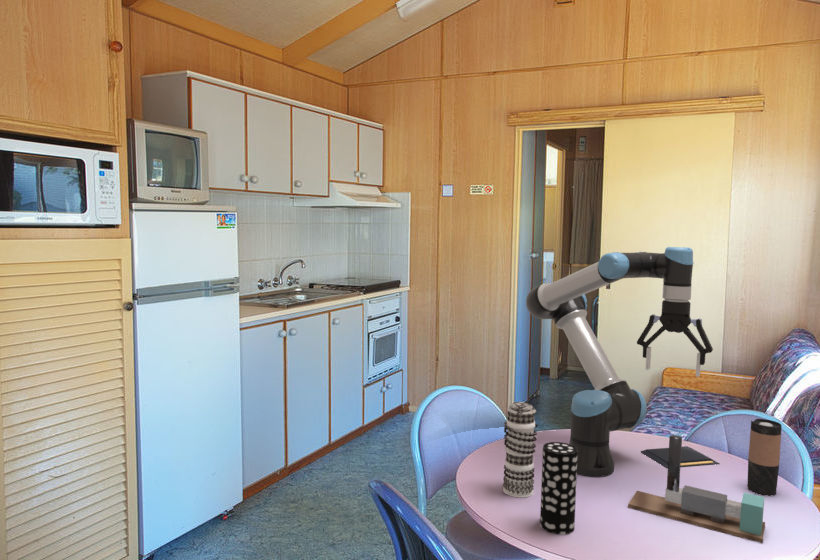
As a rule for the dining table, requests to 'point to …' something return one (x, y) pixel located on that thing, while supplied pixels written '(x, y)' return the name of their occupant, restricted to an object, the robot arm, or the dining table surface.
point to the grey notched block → (703, 503)
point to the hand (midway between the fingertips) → (672, 372)
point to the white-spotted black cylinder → (558, 487)
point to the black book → (687, 457)
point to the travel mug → (764, 456)
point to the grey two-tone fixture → (673, 479)
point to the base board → (673, 511)
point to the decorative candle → (519, 450)
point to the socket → (752, 513)
